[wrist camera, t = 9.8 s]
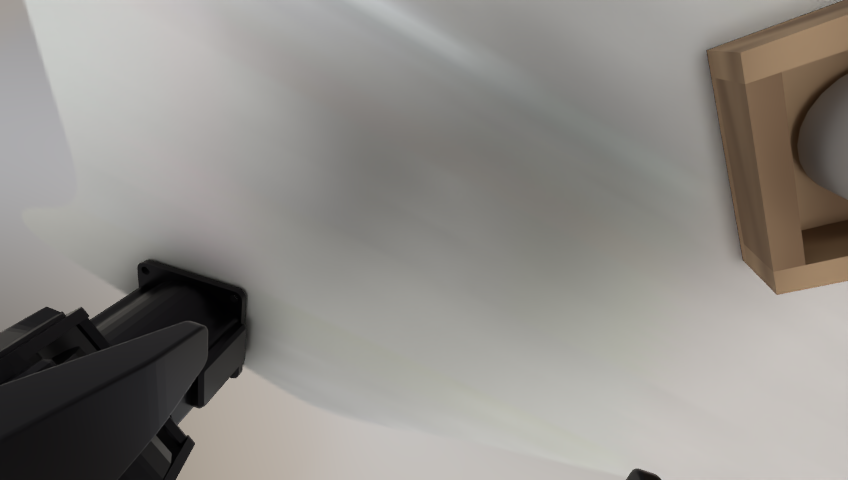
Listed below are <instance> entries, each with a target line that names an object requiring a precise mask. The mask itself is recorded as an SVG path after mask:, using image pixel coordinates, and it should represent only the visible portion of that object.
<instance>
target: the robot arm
mask: <svg viewBox="0 0 848 480" xmlns="http://www.w3.org/2000/svg"><path fill="white" fill-rule="evenodd" d="M147 268H148V269H149V270H148V269H147ZM138 282H139V288H138V289H137V290H135V291H133V292H132V293H130V294H129V295H127V296H126V297H124V298H123V299H121V300H120V301H118V302H117V303H115V304H113V305H112V306H110V307H109V308H107V309H106V310H104V311H103V312H101V313H100V314H98V315H97V316H95V317H94V318H92V319H90V320H89V319H88V317H89V315H88V314H87V313H86V311H85V310H84V309H83V308H82V307H80V308H78V309H76V310H75V311H73V312H71V313H69V314H66V315H65V314H64V313H63V312H59V311H56V310H54V309H51V308H49V307H45V308H43V309H41V310H39V311H38V312H36V313H34V314H32V315H30V316H29V317H27V318H25V319H23V320H22V321H20V322H18V323H16V324H15V325H13V326H11V327H9V328H7V329H6V330H4V331H2V332H0V480H176V478H177V476H178V474H179V473H180V471H181V469H182V467H183V465H184V463H185V461H186V460H187V458H188V456H189V454H190V452H191V450H192V449H193V446H194V445H195V443H194V441H193V440H192V439H191V438H190V437H189V436H188V435H187V436H186V435H185V434H184V433H183V431H182V430H181V429H180V428H179V427H178V424H179V422H181V420H182V419H183V418H184V417H185V416H186V415H187V414H188V412H189V411H190V410H191V409H192V408H193V407H196V408H202V407H203V406H205V405H206V404H207V403H208V402H209V401H210V399H211V398H212V397H213V396H214V395H215V394H216V392H217V391H218V390H219V389H220V388H221V387H222V386H223V384H224V383H225V382H226V381H227V380H228V379H229V377H230V378H236V377H238V375H240V373H241V372H242V365H243V361H244V360H245V350H246V333H247V328H246V326H245V310H246V295H245V293H244V291H242V290H241V289H239V288H237V287H234V286H230V285H227V284H224V283H221V282H218V281H215V280H211V279H208V278H205V277H202V276H199V275H196V274H192V273H189V272H186V271H183V270H180V269H177V268H173V267H170V266H167V265H164V264H161V263H158V262H154V261H151V260H145V261H143V262H141V263H140V264H139V265H138ZM234 295H235V296H236V297H237V298H238V299H237V298H236V297H235V296H234ZM626 480H661V479H660V478H659V477H658V476H657V475H656V474H653V473H650V472H647V471H644V470H641V469H634V470H632V472H631V473H630V474H629V476H628V477H627V479H626Z"/></svg>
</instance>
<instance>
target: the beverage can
mask: <svg viewBox="0 0 848 480" xmlns="http://www.w3.org/2000/svg"><path fill="white" fill-rule="evenodd" d="M797 148H798V155H799V161H800V163H801V165H802V167H803V169H804V171H805V172H806V174H807V176H808V177H810V178H811V179H812V180H813V181H814V182H816V183H817V184H818V185H819V186H821V187H823V188H825V189H827V190H829V191H831V192H833V193H835V194H837V195H839V196H841V197H843V198H845V199H847V200H848V74H846V75H845V76H843V77H841V78H839V79H838V80H837V81H836V82H835V83H833V84H832V85H831V86H830V87H829V88H828V89H826V90H825V91H824V92H823V93H822V94H821V95H820V96H819V98H818V99H817V100H816V101H815V103H814V104H813V105H812V107H811V108H810V109H809V110H808V112H807V114H806V117H805V119H804V121H803V123H802V125H801V127H800V131H799V137H798V143H797Z"/></svg>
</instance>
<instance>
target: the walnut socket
mask: <svg viewBox="0 0 848 480" xmlns="http://www.w3.org/2000/svg"><path fill="white" fill-rule="evenodd" d="M707 55H708V61H709V67H710V73H711V78H712V84H713V90H714V96H715V101H716V107H717V113H718V119H719V124H720V130H721V136H722V142H723V147H724V153H725V159H726V165H727V170H728V176H729V182H730V188H731V193H732V199H733V205H734V211H735V216H736V222H737V228H738V234H739V239H740V245H741V251H742V257H743V261H744V262H745V263H746V264H747V265H748V266H749V267H750V268H751V269H752V270H753V271H754V272H755V273H756V274H757V275H758V276H759V277H760V278H761V279H762V280H763V281H764V282H765V283H766V284H767V285H768V286H769V287H770V288H771V289H772V290H773V291H774V292H775V293H776V294H777V295H778V294H783V293H788V292H793V291H798V290H804V289H809V288H814V287H819V286H824V285H829V284H834V283H839V282H844V281H848V200H847V199H845V198H843V197H841V196H839V195H837V194H835V193H833V192H831V191H829V190H827V189H825V188H823V187H821V186H819V185H818V184H817V183H816V182H814V181H813V180H812V179H811V178H810V177H808V176H807V174H806V172H805V171H804V169H803V167H802V165H801V163H800V161H799V155H798V148H797V143H798V137H799V131H800V127H801V125H802V123H803V121H804V119H805V117H806V114H807V112H808V110H809V109H810V108H811V107H812V105H813V104H814V103H815V101H816V100H817V99H818V98H819V96H820V95H821V94H822V93H823V92H824V91H825V90H826V89H828V88H829V87H830V86H831V85H832V84H833V83H835V82H836V81H837V80H838V79H839V78H841V77H843V76H845V75H846V74H848V0H843V1H841V2H838V3H835V4H832V5H830V6H827V7H824V8H821V9H819V10H816V11H813V12H810V13H808V14H805V15H802V16H799V17H797V18H794V19H791V20H789V21H786V22H783V23H780V24H778V25H775V26H772V27H769V28H767V29H764V30H761V31H758V32H756V33H753V34H750V35H747V36H745V37H742V38H739V39H736V40H734V41H731V42H728V43H725V44H723V45H720V46H717V47H714V48H712V49H709V50H707Z"/></svg>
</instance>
